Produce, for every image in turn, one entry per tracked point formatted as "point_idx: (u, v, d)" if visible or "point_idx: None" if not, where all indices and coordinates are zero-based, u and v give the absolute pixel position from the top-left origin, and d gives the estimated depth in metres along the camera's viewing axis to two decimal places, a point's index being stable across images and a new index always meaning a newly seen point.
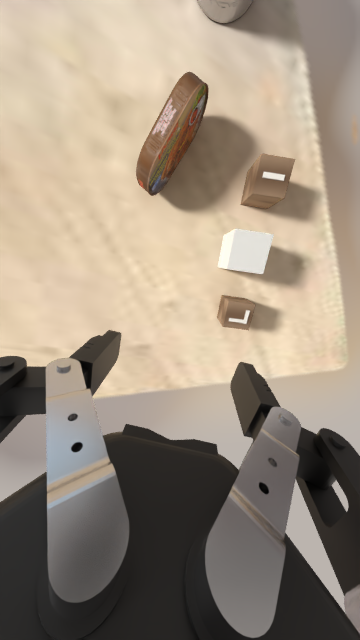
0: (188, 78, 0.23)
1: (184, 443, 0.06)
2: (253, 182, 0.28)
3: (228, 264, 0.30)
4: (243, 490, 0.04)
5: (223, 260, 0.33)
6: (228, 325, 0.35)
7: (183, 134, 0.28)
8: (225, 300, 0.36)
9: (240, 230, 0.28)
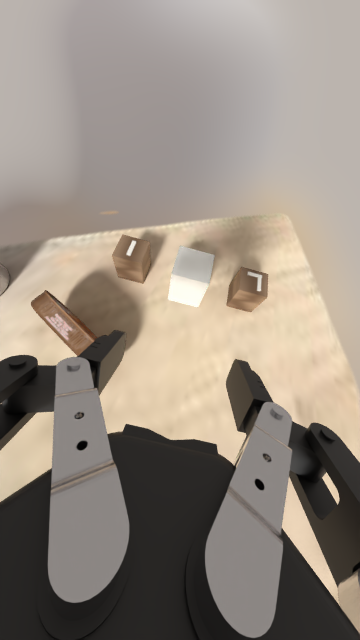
0: (36, 301, 0.24)
1: (184, 443, 0.06)
2: (131, 264, 0.31)
3: (204, 282, 0.28)
4: (243, 490, 0.04)
5: (195, 294, 0.32)
6: (265, 291, 0.32)
7: (74, 320, 0.28)
8: (235, 296, 0.33)
9: (173, 269, 0.28)
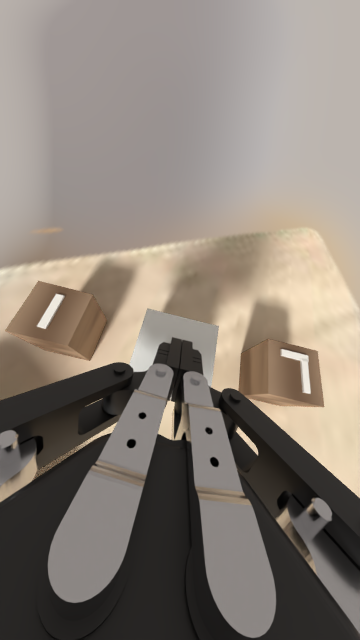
0: None
1: (184, 443, 0.06)
2: (51, 343, 0.16)
3: None
4: (243, 490, 0.04)
5: None
6: (318, 393, 0.16)
7: None
8: (258, 395, 0.17)
9: None
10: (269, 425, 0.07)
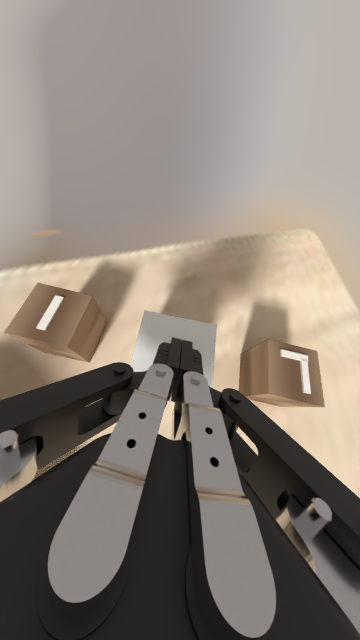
0: None
1: (184, 443, 0.06)
2: (51, 345, 0.15)
3: None
4: (243, 490, 0.04)
5: None
6: (318, 393, 0.16)
7: None
8: (258, 396, 0.17)
9: None
10: (268, 425, 0.07)
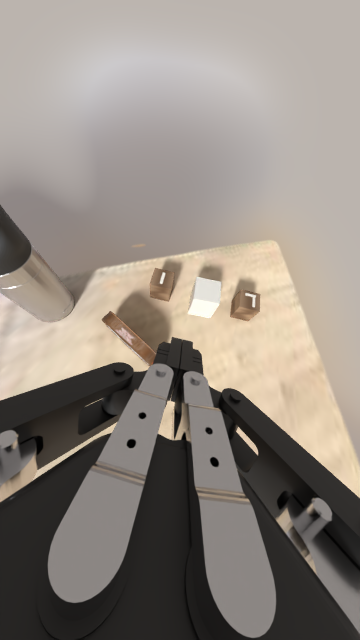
0: (107, 319, 0.37)
1: (184, 443, 0.06)
2: (163, 289, 0.44)
3: (216, 302, 0.41)
4: (243, 490, 0.04)
5: (209, 310, 0.44)
6: (258, 307, 0.44)
7: None
8: (237, 310, 0.46)
9: (194, 295, 0.41)
10: (269, 425, 0.07)
